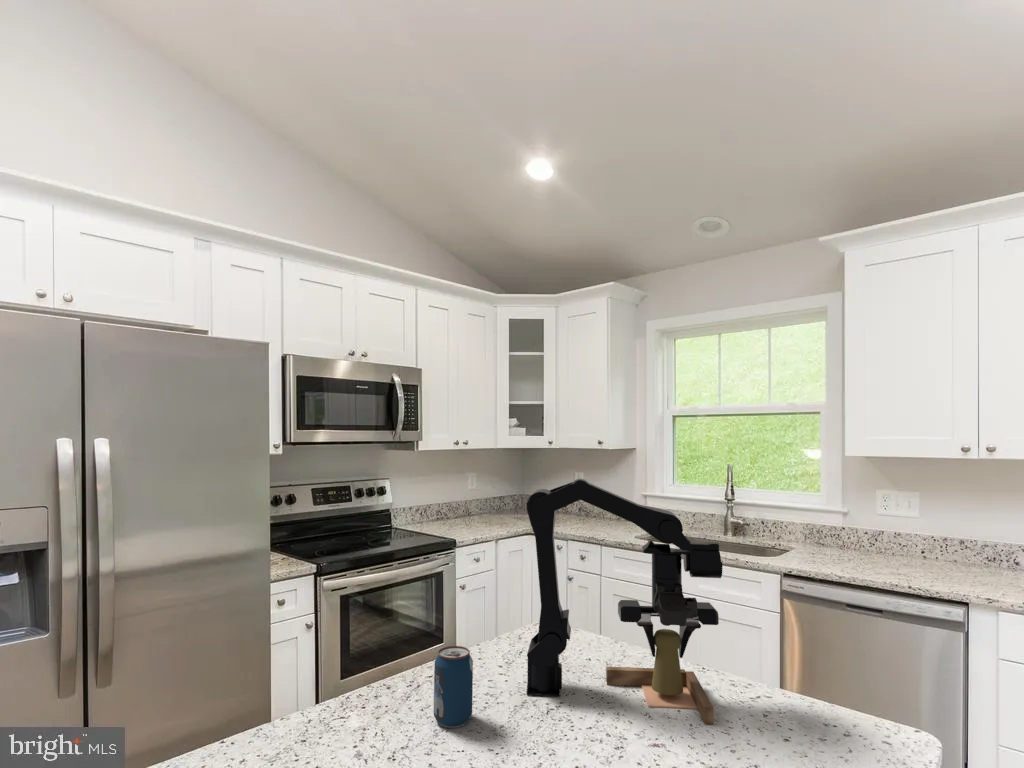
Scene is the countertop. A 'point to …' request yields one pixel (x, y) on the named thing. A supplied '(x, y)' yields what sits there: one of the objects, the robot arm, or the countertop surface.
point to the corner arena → (687, 699)
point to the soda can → (453, 686)
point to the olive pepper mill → (667, 663)
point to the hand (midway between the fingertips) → (667, 656)
